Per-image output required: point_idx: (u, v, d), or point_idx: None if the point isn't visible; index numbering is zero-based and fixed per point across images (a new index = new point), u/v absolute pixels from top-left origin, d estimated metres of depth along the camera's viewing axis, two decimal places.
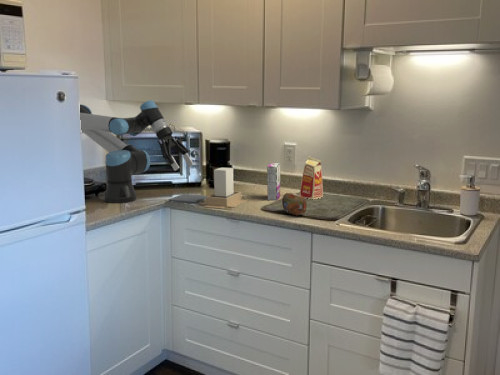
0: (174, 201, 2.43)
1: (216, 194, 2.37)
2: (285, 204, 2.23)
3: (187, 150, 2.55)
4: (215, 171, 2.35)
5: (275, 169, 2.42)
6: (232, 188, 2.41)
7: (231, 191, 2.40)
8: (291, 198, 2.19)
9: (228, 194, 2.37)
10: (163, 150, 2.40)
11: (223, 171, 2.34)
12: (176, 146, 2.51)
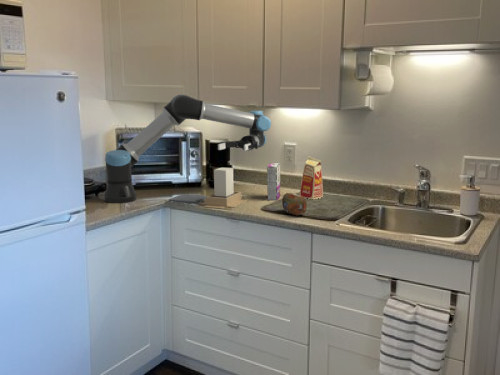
0: (174, 201, 2.43)
1: (216, 194, 2.37)
2: (285, 204, 2.23)
3: None
4: (215, 171, 2.35)
5: (275, 169, 2.42)
6: (232, 188, 2.41)
7: (231, 191, 2.40)
8: (291, 198, 2.19)
9: (228, 194, 2.37)
10: None
11: (223, 171, 2.34)
12: (235, 145, 2.56)
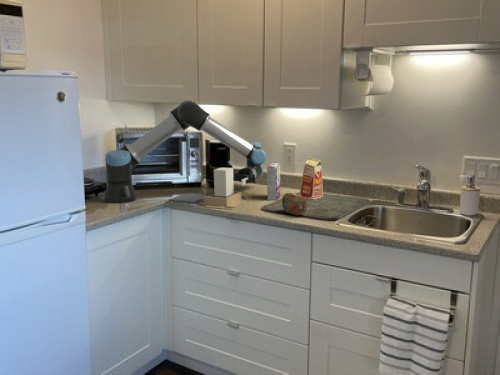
0: (174, 201, 2.43)
1: (216, 194, 2.37)
2: (285, 204, 2.23)
3: None
4: (215, 171, 2.35)
5: (275, 169, 2.42)
6: (232, 188, 2.41)
7: (231, 191, 2.40)
8: (291, 198, 2.19)
9: (228, 194, 2.37)
10: None
11: (223, 171, 2.34)
12: None
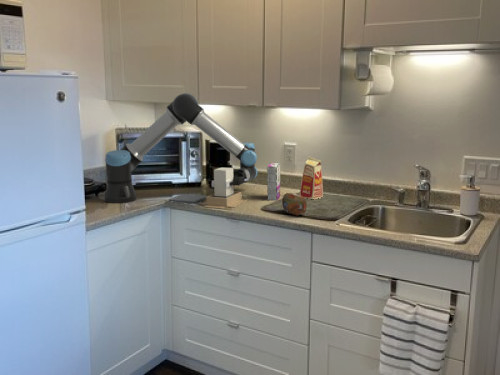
0: (174, 201, 2.43)
1: (216, 194, 2.37)
2: (285, 204, 2.23)
3: None
4: (215, 171, 2.35)
5: (275, 169, 2.42)
6: (232, 188, 2.41)
7: (231, 191, 2.40)
8: (291, 198, 2.19)
9: (228, 194, 2.37)
10: (241, 181, 2.41)
11: (223, 171, 2.34)
12: None
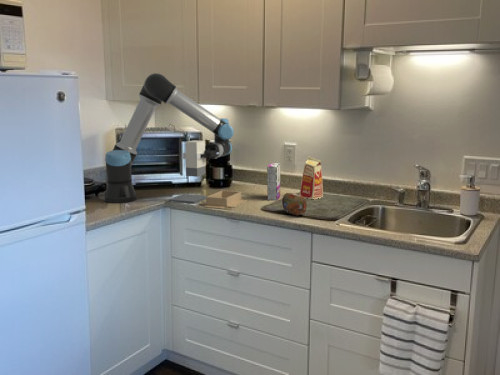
0: (174, 201, 2.43)
1: (187, 166, 2.41)
2: (285, 204, 2.23)
3: None
4: (186, 143, 2.39)
5: (275, 169, 2.42)
6: (204, 161, 2.45)
7: (202, 163, 2.43)
8: (291, 198, 2.19)
9: (199, 166, 2.41)
10: (213, 154, 2.45)
11: (194, 143, 2.37)
12: None
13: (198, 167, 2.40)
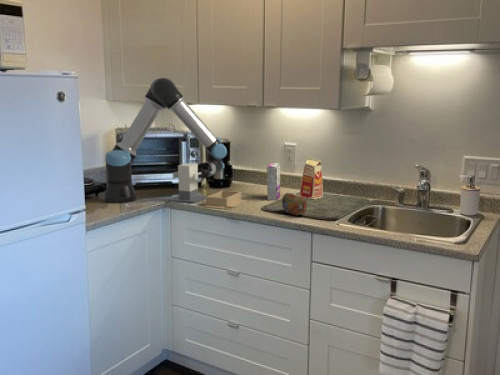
0: (174, 201, 2.43)
1: (180, 189, 2.44)
2: (285, 204, 2.23)
3: None
4: (179, 167, 2.42)
5: (275, 169, 2.42)
6: (196, 183, 2.48)
7: (195, 186, 2.47)
8: (291, 198, 2.19)
9: (192, 189, 2.44)
10: (209, 174, 2.49)
11: (187, 167, 2.41)
12: None
13: (191, 190, 2.43)
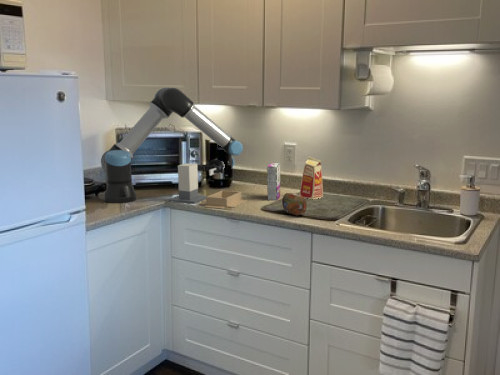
0: (174, 201, 2.43)
1: (180, 189, 2.44)
2: (285, 204, 2.23)
3: None
4: (179, 167, 2.42)
5: (275, 169, 2.42)
6: (196, 183, 2.48)
7: (195, 186, 2.47)
8: (291, 198, 2.19)
9: (192, 189, 2.44)
10: None
11: (186, 167, 2.41)
12: (202, 168, 2.66)
13: (191, 190, 2.43)
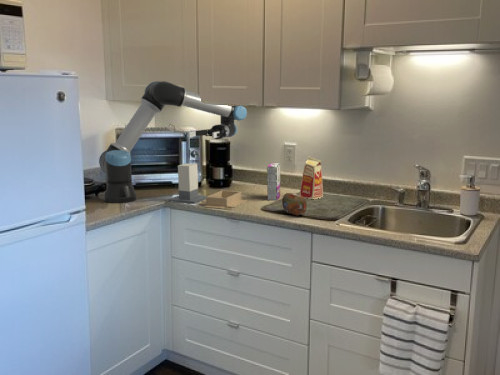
0: (174, 201, 2.43)
1: (180, 189, 2.44)
2: (285, 204, 2.23)
3: None
4: (179, 167, 2.42)
5: (275, 169, 2.42)
6: (196, 183, 2.48)
7: (195, 186, 2.47)
8: (291, 198, 2.19)
9: (192, 189, 2.44)
10: None
11: (186, 167, 2.41)
12: (205, 133, 2.66)
13: (191, 190, 2.43)
